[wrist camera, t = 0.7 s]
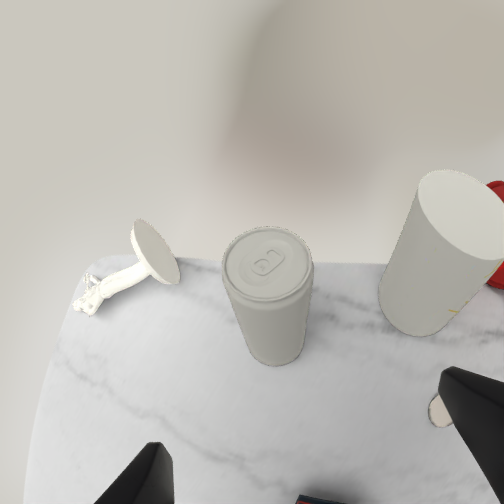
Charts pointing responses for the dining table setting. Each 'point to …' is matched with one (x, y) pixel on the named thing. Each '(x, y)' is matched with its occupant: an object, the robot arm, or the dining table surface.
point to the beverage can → (270, 291)
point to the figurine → (133, 268)
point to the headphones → (500, 278)
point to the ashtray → (439, 413)
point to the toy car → (313, 500)
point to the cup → (442, 252)
